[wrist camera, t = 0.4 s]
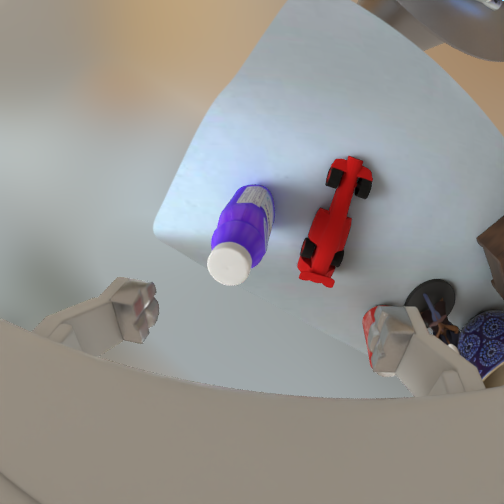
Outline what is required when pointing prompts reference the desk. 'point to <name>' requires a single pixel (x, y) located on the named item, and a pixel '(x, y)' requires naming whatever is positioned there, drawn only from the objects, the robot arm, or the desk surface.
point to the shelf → (495, 253)
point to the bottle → (241, 234)
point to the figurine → (436, 309)
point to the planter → (485, 346)
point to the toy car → (333, 222)
